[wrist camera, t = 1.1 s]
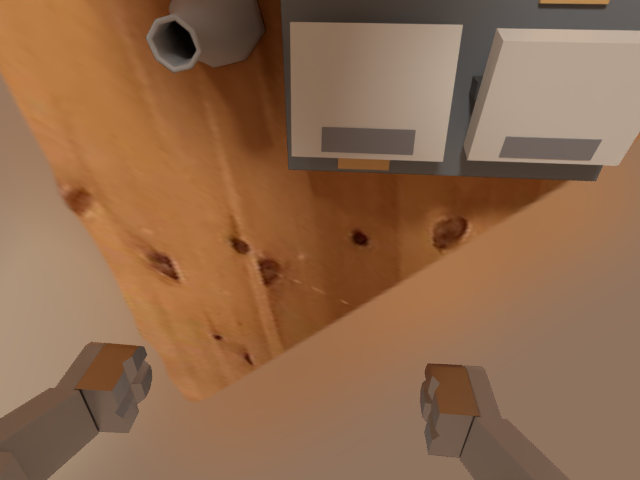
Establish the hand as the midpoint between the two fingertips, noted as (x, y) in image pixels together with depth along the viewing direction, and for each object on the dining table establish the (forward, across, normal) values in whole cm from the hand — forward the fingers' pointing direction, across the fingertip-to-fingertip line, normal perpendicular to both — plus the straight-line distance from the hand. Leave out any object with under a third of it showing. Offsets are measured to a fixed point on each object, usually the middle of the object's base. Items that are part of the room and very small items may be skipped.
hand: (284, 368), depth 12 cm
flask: (+29, +9, -6) cm, 31 cm away
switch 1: (+20, -3, -3) cm, 21 cm away
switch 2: (+20, -15, -3) cm, 25 cm away
